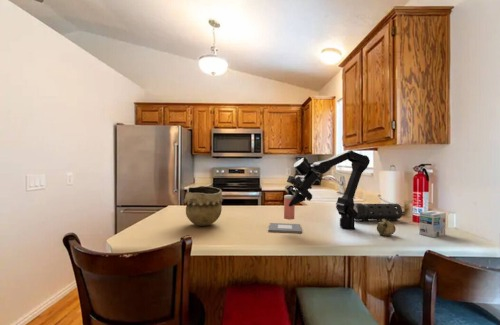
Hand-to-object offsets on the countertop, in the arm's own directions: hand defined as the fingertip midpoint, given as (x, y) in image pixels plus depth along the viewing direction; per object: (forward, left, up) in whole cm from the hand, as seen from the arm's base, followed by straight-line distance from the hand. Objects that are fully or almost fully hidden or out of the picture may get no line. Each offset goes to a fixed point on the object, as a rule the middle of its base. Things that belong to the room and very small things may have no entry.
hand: (286, 204), depth 128 cm
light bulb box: (-70, -9, -14) cm, 72 cm away
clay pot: (+43, -7, -14) cm, 46 cm away
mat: (+1, -7, -13) cm, 15 cm away
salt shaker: (-1, -1, -7) cm, 7 cm away
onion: (-47, -4, -14) cm, 49 cm away
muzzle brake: (-52, -35, -14) cm, 64 cm away
